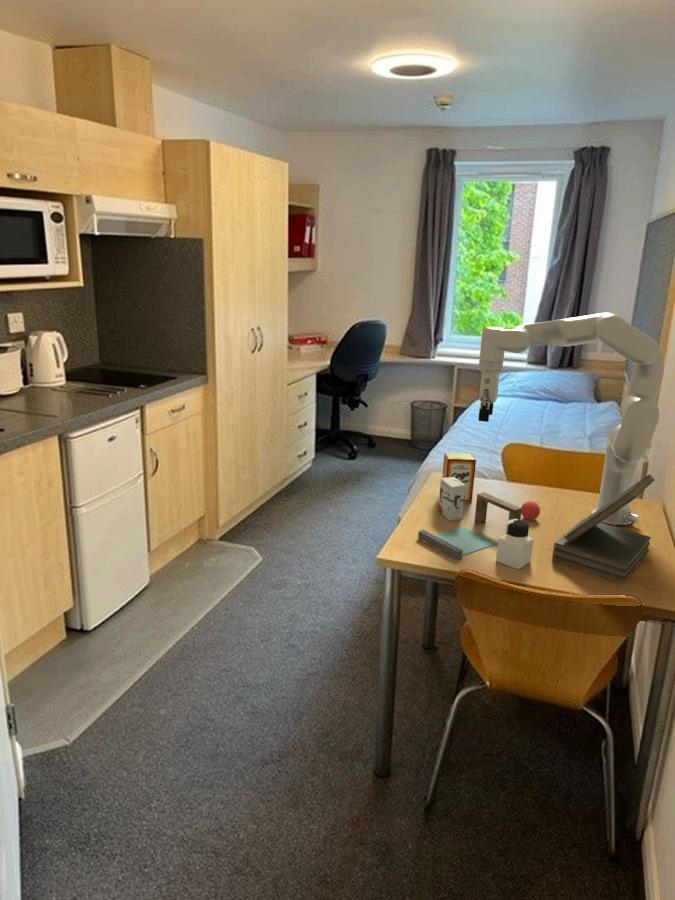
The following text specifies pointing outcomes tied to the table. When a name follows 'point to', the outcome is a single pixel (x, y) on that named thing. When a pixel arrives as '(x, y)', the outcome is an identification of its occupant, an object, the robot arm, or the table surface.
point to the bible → (604, 541)
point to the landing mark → (466, 540)
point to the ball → (530, 510)
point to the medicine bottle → (515, 544)
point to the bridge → (486, 498)
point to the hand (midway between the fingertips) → (485, 417)
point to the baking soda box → (461, 471)
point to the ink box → (451, 498)
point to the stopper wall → (440, 544)
